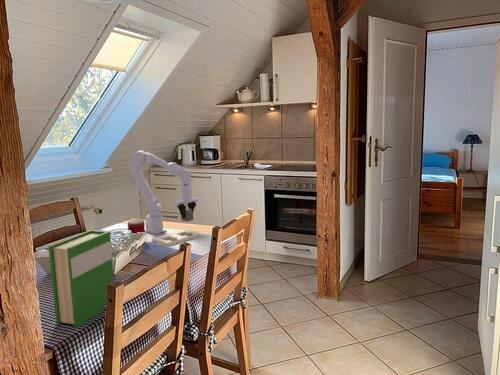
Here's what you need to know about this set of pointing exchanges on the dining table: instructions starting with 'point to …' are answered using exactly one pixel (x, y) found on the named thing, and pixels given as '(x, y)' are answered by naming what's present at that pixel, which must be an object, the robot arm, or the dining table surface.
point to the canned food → (136, 225)
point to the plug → (188, 215)
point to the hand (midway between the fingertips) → (187, 216)
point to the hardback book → (81, 276)
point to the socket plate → (175, 237)
